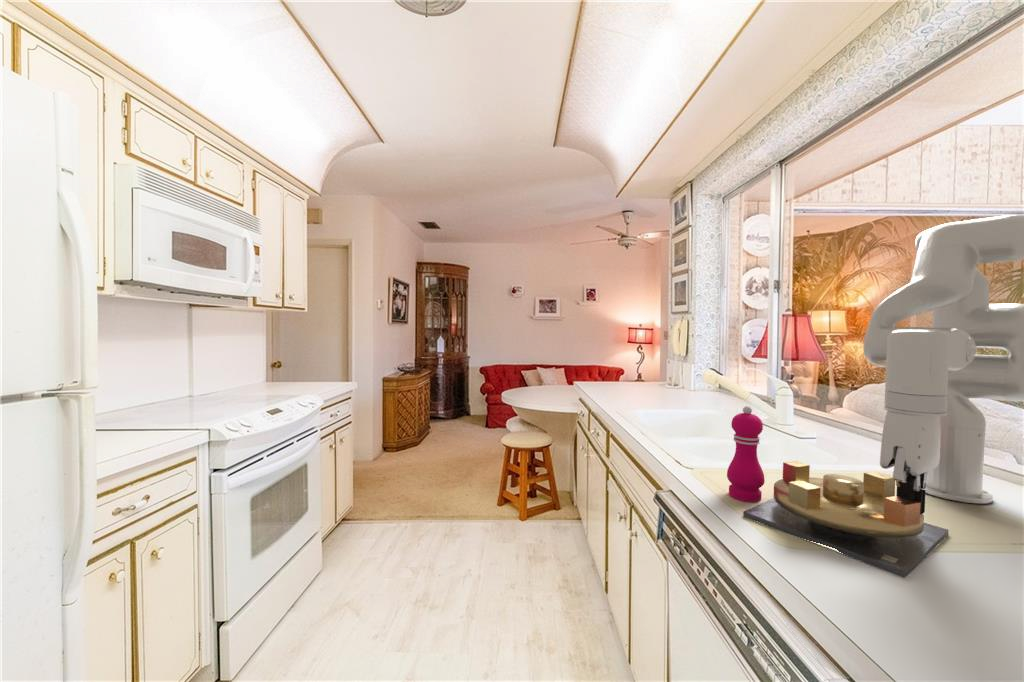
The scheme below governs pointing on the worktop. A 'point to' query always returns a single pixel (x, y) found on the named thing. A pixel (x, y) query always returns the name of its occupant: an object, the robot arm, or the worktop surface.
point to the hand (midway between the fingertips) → (910, 510)
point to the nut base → (854, 539)
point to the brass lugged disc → (849, 502)
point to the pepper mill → (746, 458)
